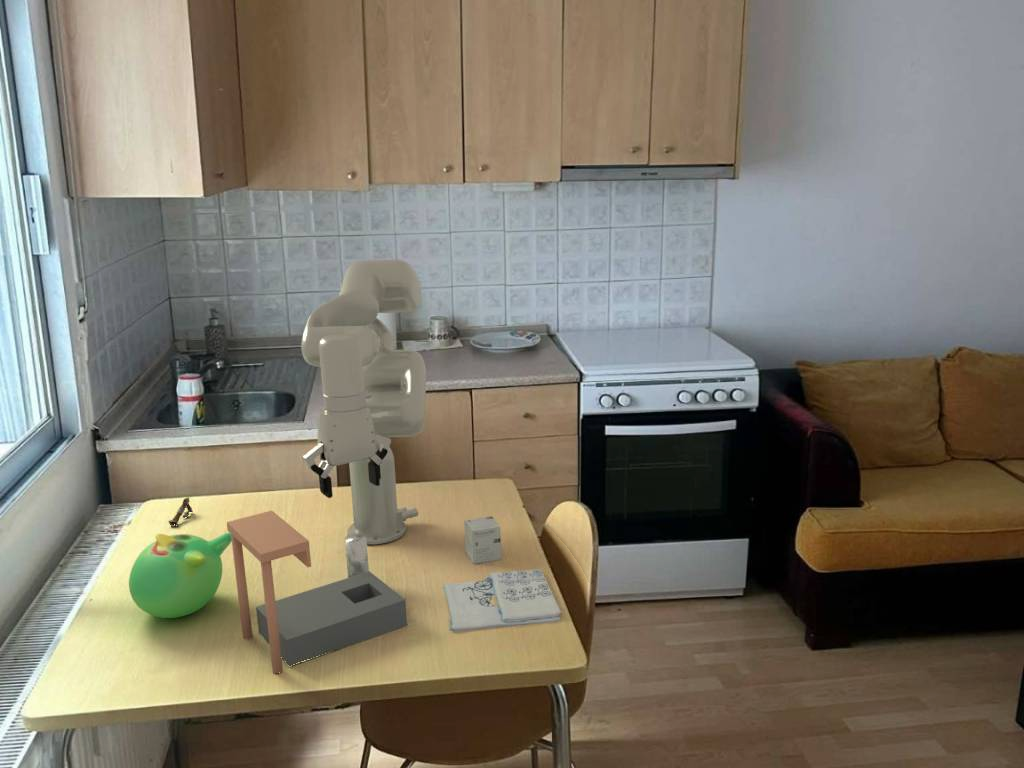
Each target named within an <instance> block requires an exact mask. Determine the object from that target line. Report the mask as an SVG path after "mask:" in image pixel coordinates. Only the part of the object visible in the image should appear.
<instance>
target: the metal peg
mask: <svg viewBox="0 0 1024 768" xmlns="http://www.w3.org/2000/svg"><path fill="white" fill-rule="evenodd" d="M344 545H345V554H346V567H347V578H350V577H353V576H356V575H359V574H362V573H366V572H369V571H370V568H369V556H368V544H367V541H366V536H365V535H363V534H352V535H349V536H348V535H347V536H346V537H345V538H344Z"/></svg>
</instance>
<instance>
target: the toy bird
mask: <svg viewBox="0 0 1024 768" xmlns="http://www.w3.org/2000/svg"><path fill="white" fill-rule="evenodd" d="M155 539H156V541H153V542H152V543H151V544H149V545H147V546H146V547H145V548H144V549H143V550H142V551H141V552H140V553H139V554H138V556H137V557H136V559H135V560H134V563H133V565H132V567H131V570H130V573H129V577H128V589H129V593H130V596H131V598H132V600H133V602H134V604H135V605H136V606H137V607H138V608H139V609H140V610H141V611H143V612H144V613H146V614H149V615H151V616H153V617H157V618H162V619H174V618H176V619H177V618H181V617H185V616H187V615H190V614H193V613H195V612H197V611H199V610H200V609H202V608H204V607H205V606H206V605H208V603H209V602H210V601H211V599H212V598H213V597H214V596H215V594H216V592H217V591H218V589H219V586H220V584H221V580H222V576H223V562H222V559H221V556H222V554H223V553H224V551H225V550H226V549H227V548H228V547H229V545H230V544H232V539H231V533H230V532H229V531H228V532H226V533H224V534H221V535H218V536H217V537H215V538H213V539H211V540H209V541H208V540H207V539H204V538H202V537H200V536H197V535H194V534H172V535H167V534H164V533H157V534H155Z"/></svg>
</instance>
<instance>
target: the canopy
mask: <svg viewBox="0 0 1024 768" xmlns="http://www.w3.org/2000/svg"><path fill="white" fill-rule="evenodd" d="M226 527H227V528H226V529H227V531H228V532H230V533H231V539H232V542H231V546H232V547H231V548H232V554H233V562H234V570H235V581H236V587H237V596H238V606H239V614H240V622H241V632H242V638H243V639H245V638H248V639H251V638H252V637H253V630H252V629H253V627H252V620H251V611H250V602H249V594H248V585H247V584H248V583H247V575H246V570H245V569H246V568H245V560H244V559H245V557H244V552H243V547H244V548H246V550H248V552H250V554H252V555H253V556H254V557H255V558H256V559H257V560H258V561H259V563H260V568H261V578H262V587H263V594H264V595H263V596H264V604H265V606H266V615H267V624H268V633H269V642H270V645H269V651H270V658H271V666H272V667H271V668H272V674H274V673H279V672H282V671H284V667H283V661H282V660H283V659H282V658H281V649H280V640H279V630H278V621H277V612H276V602H275V601H276V595H275V585H274V575H273V568H272V567H273V566H272V561H275V560H278V559H281V558H284V557H288V556H289V557H290V556H294V557H295V558H297V559H298V561H300V563H302V564H304V565H305V566H306V568H311V567H312V561H311V551H310V550H311V547H310V540H308V538H306V537H305V536H304V535H302V534H301V533H300V532H299V531H298V530H296V529H295V528H294V527H293V526H291V525H290V524H289V523H288V522H287V521H285V520H284V519H283V518H282V517H280V516H279V515H278V514H277V513H276V512H275V511H273V510H268V511H265V512H261V513H257V514H253V515H249V516H245V517H242V518H238V519H234V520H230V521H226ZM250 637H251V638H250ZM282 673H283V672H282Z"/></svg>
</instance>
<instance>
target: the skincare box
mask: <svg viewBox="0 0 1024 768" xmlns="http://www.w3.org/2000/svg"><path fill="white" fill-rule="evenodd" d="M463 525H464V541H465V542H464V544H465V545H464V548H465V552H464V553H465V554H466V555H467V557H468V558H469V560H470V561H471V563H472V564H474V565H475V564H481V563H487V562H493V561H500V560H501V559H502V548H501V547H502V543H501V526H500V524H499V523H498V522H497V520H496V519H495V518H494V517H493V516H484V517H475V518H471V519H464V523H463Z"/></svg>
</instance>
